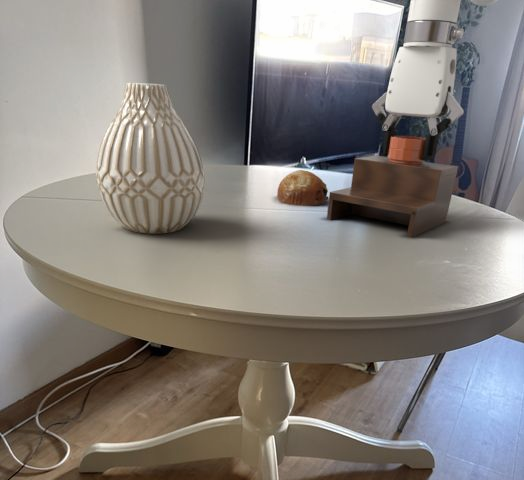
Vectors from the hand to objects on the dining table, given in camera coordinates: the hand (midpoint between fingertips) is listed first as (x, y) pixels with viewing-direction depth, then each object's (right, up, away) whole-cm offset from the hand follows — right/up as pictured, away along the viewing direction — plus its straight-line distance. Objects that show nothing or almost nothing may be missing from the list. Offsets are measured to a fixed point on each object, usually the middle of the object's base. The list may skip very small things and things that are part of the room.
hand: (406, 156), depth 85 cm
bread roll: (-17, -4, +14) cm, 23 cm away
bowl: (0, -1, 0) cm, 1 cm away
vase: (-43, -15, -9) cm, 46 cm away
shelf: (-3, -11, +2) cm, 12 cm away
